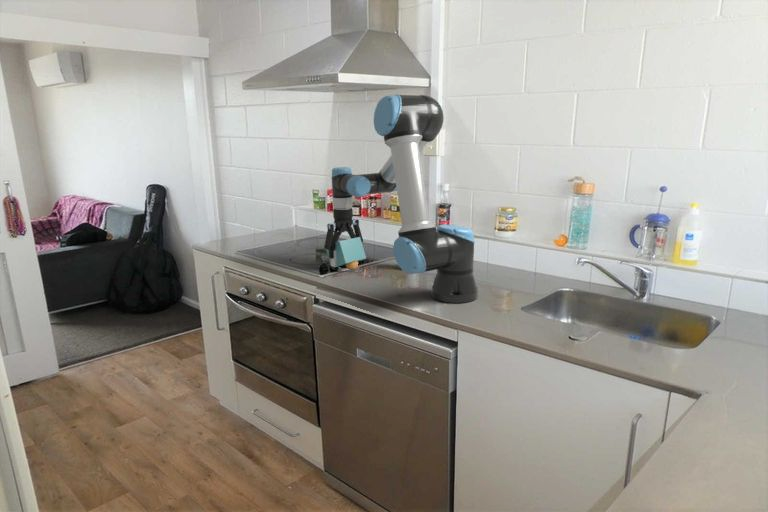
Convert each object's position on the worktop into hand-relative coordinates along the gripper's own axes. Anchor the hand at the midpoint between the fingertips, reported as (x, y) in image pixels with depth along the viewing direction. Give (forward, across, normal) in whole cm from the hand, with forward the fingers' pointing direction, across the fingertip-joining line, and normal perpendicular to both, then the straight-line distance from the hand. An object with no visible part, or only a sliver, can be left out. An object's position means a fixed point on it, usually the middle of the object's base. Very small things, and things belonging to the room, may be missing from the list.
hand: (344, 263), depth 206 cm
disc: (+2, 0, 0) cm, 2 cm away
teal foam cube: (0, 0, +3) cm, 3 cm away
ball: (-1, 0, +4) cm, 5 cm away
